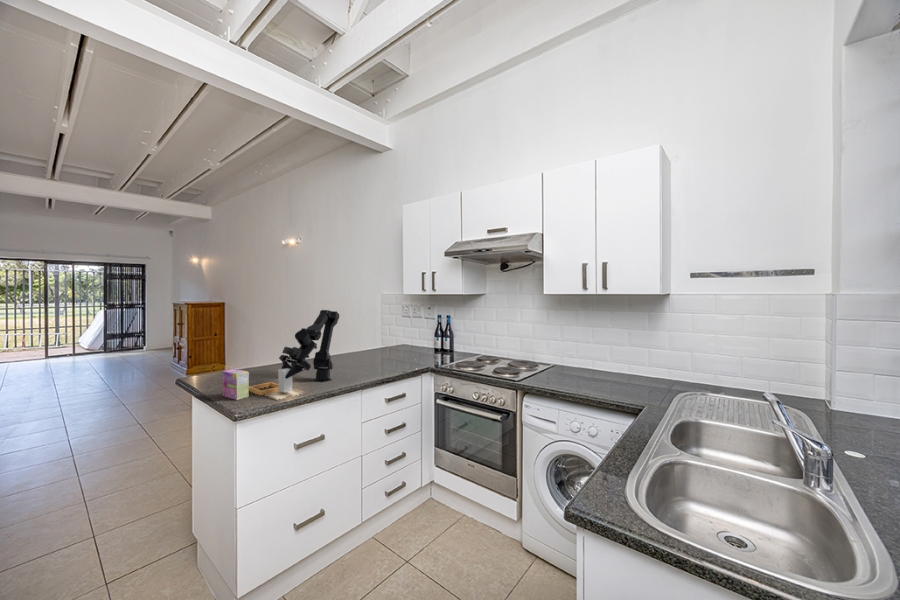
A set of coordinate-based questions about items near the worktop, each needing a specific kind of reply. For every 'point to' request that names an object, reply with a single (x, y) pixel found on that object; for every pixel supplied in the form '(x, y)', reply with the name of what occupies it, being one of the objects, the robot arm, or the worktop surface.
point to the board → (284, 394)
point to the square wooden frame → (261, 392)
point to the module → (284, 381)
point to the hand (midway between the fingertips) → (282, 377)
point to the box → (236, 384)
